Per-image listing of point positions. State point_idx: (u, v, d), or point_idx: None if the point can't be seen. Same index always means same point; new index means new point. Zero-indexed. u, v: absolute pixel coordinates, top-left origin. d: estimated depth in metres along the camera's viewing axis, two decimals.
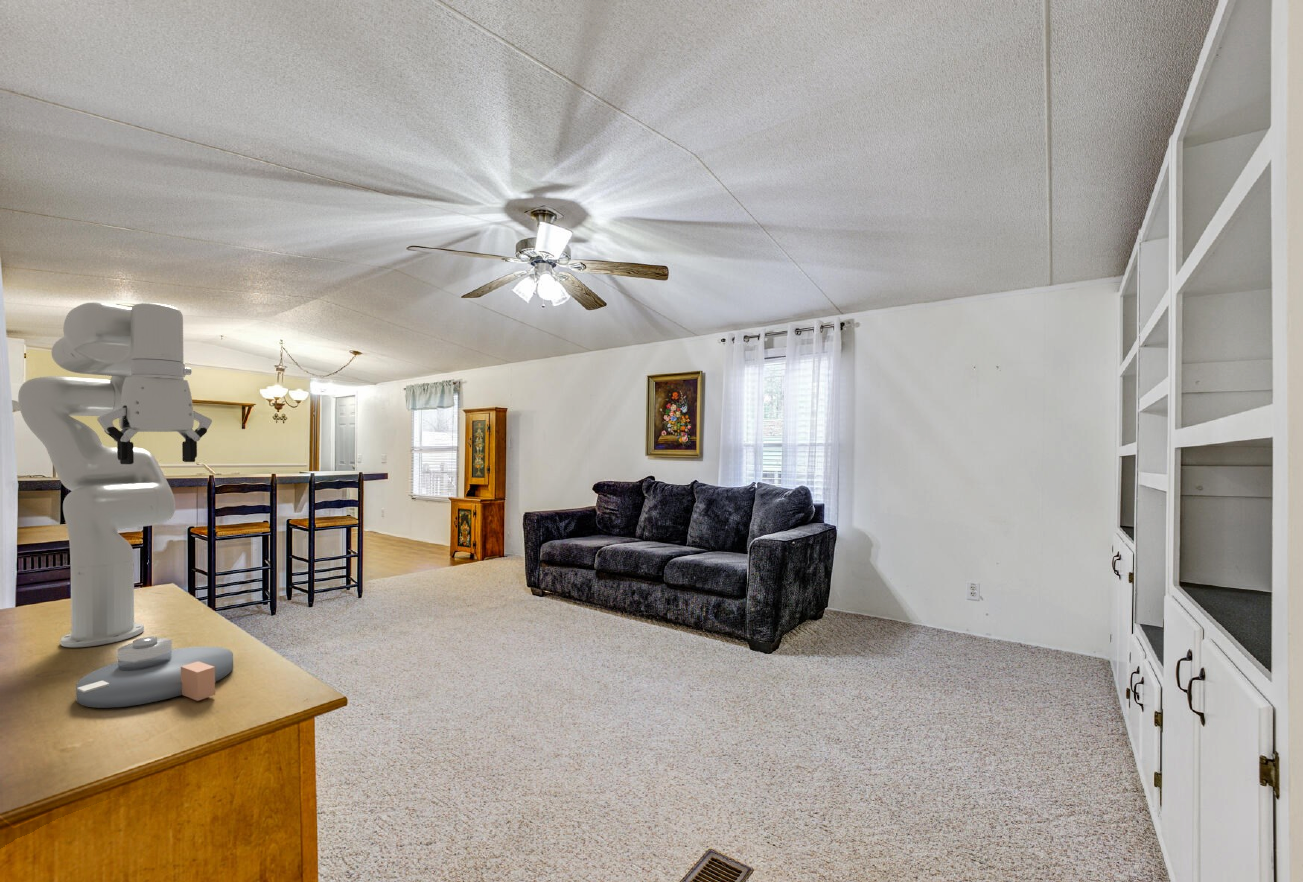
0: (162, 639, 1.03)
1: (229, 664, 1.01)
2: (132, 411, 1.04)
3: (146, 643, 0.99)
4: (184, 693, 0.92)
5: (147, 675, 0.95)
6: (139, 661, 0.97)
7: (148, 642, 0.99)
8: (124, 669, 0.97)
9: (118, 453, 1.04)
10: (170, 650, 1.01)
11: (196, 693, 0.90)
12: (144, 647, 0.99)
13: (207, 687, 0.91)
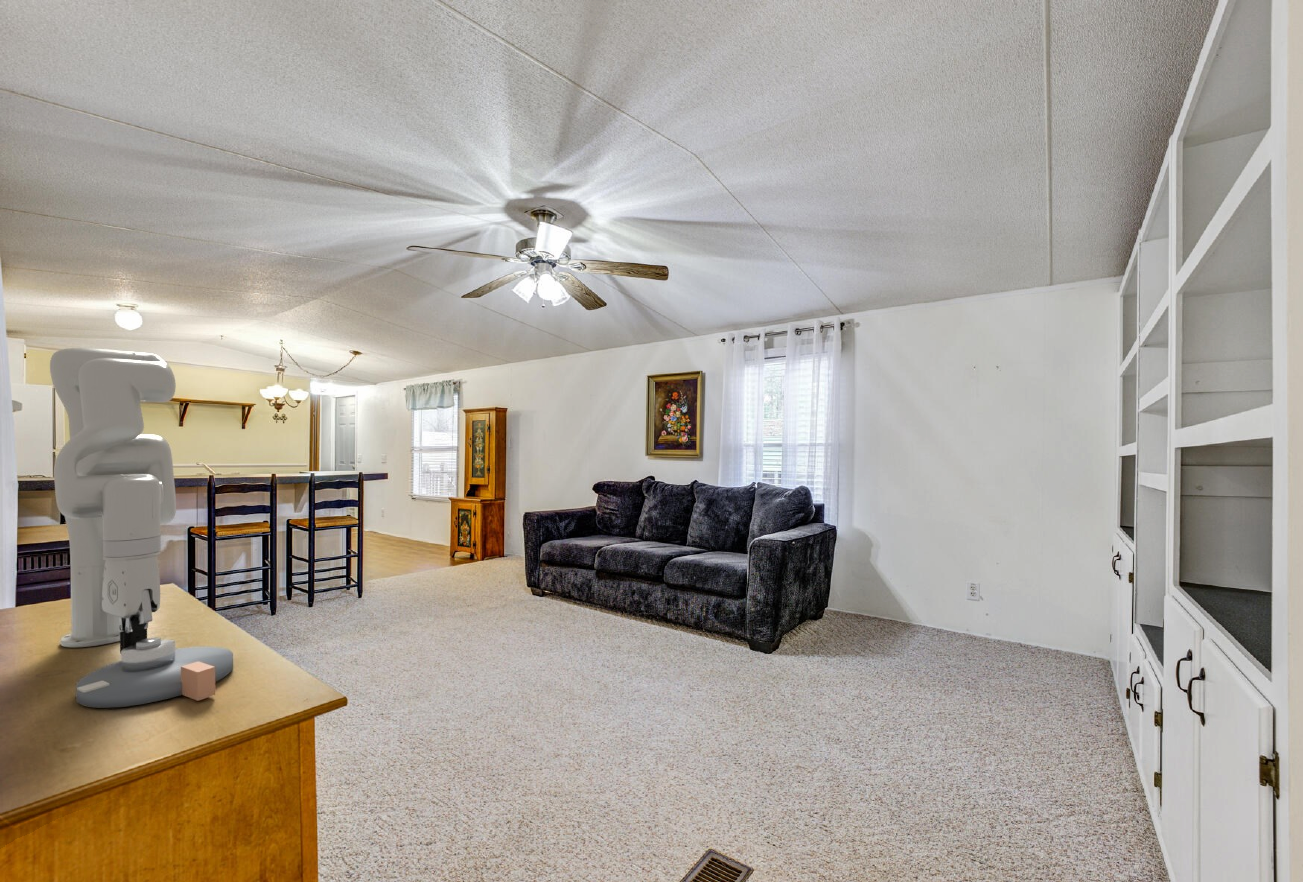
0: (166, 640, 1.02)
1: (229, 664, 1.01)
2: (159, 592, 1.01)
3: (149, 644, 0.98)
4: (184, 693, 0.92)
5: (147, 675, 0.95)
6: (143, 662, 0.96)
7: (152, 643, 0.99)
8: (128, 670, 0.96)
9: (134, 643, 1.01)
10: (173, 651, 1.01)
11: (197, 693, 0.90)
12: (148, 648, 0.98)
13: (207, 687, 0.91)
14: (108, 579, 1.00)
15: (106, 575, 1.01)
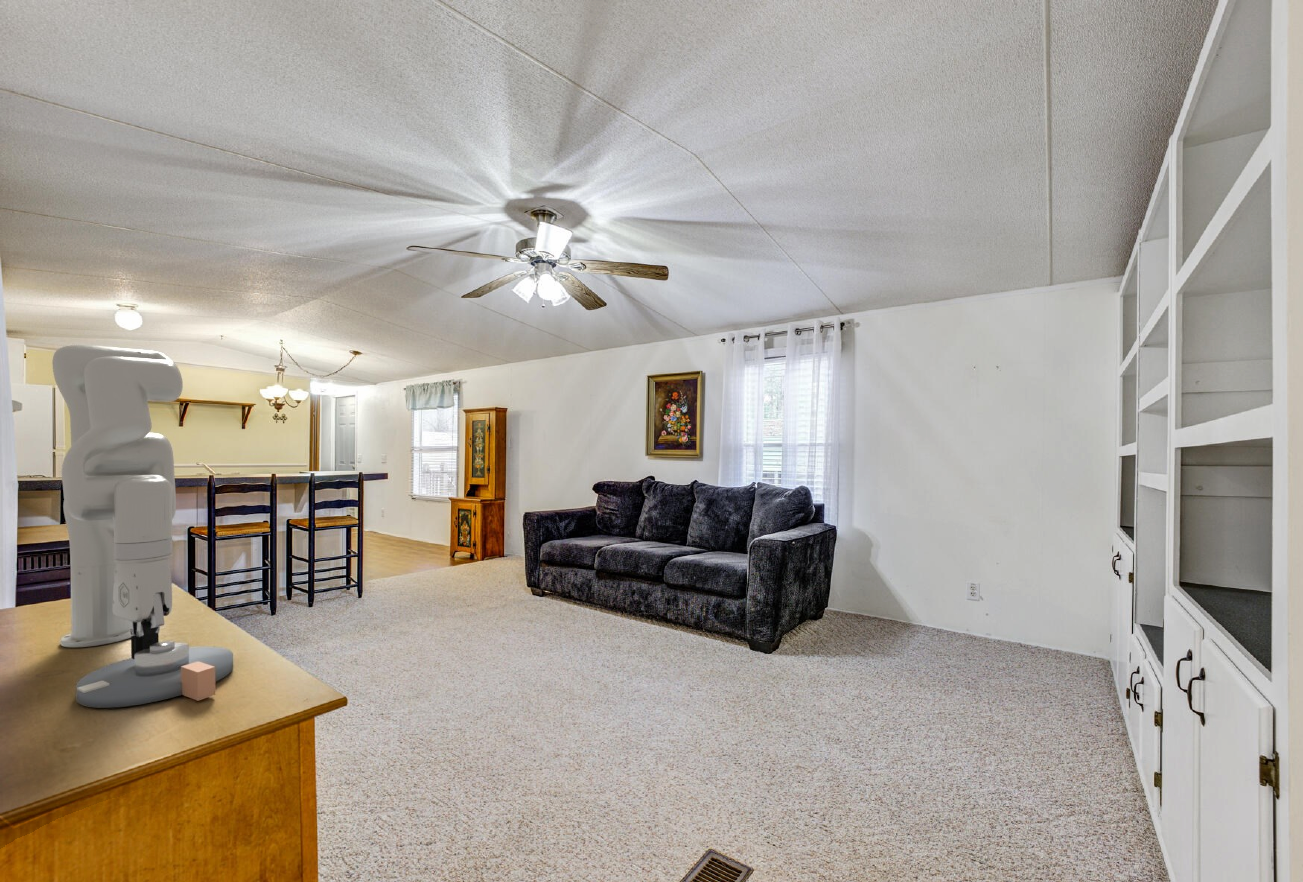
0: (178, 643, 1.01)
1: (229, 664, 1.01)
2: (171, 595, 0.99)
3: (163, 648, 0.97)
4: (184, 693, 0.92)
5: None
6: (158, 666, 0.95)
7: (166, 647, 0.97)
8: (142, 674, 0.94)
9: None
10: (188, 654, 0.99)
11: (197, 693, 0.90)
12: (162, 652, 0.96)
13: (207, 687, 0.91)
14: (119, 582, 0.98)
15: (117, 578, 0.99)
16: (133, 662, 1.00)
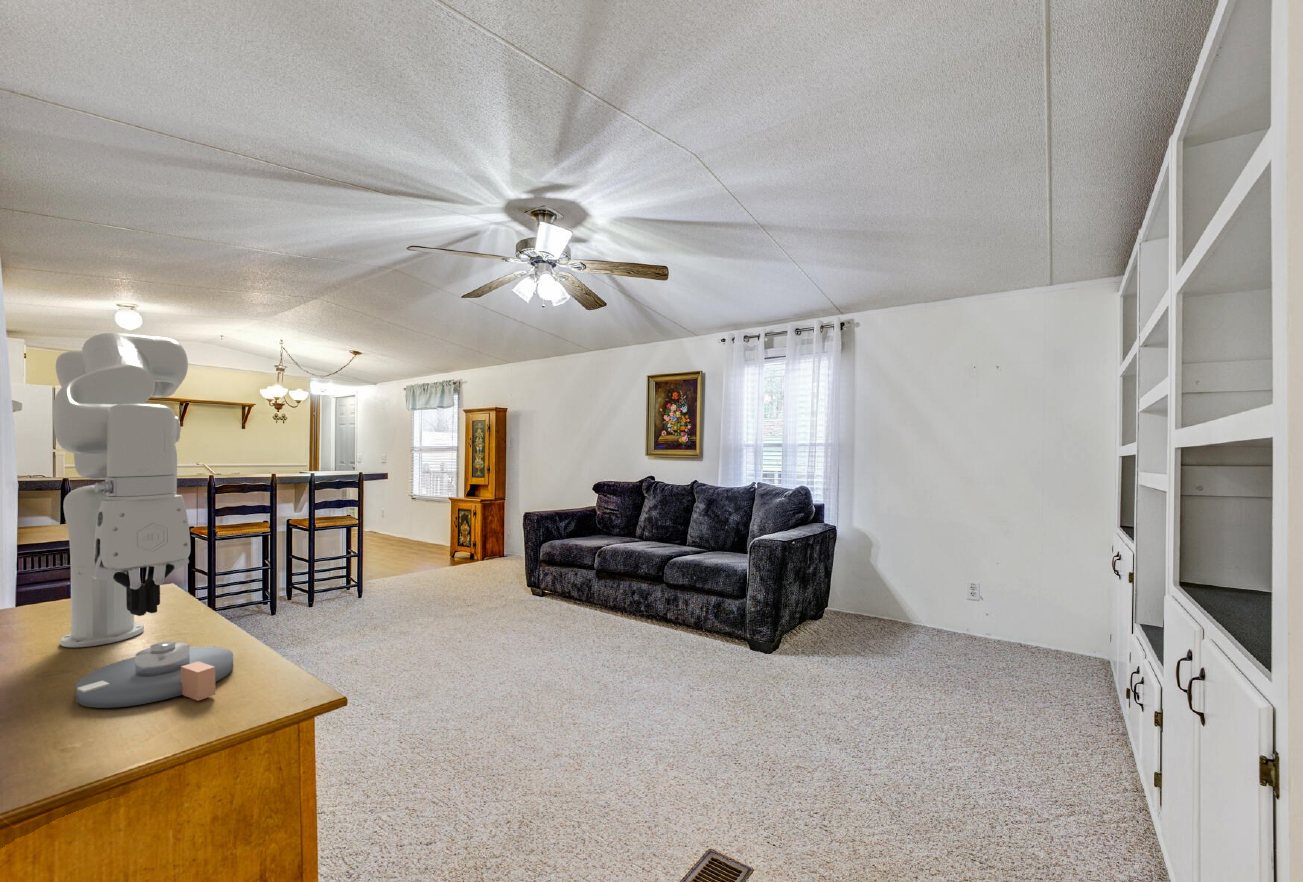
0: (179, 644, 1.01)
1: (229, 664, 1.01)
2: None
3: (164, 648, 0.97)
4: (184, 693, 0.92)
5: None
6: (158, 666, 0.95)
7: (167, 647, 0.97)
8: (143, 675, 0.94)
9: None
10: (188, 654, 0.99)
11: (197, 693, 0.90)
12: (163, 652, 0.96)
13: (207, 687, 0.91)
14: (140, 524, 0.83)
15: (130, 522, 0.82)
16: (133, 662, 1.00)
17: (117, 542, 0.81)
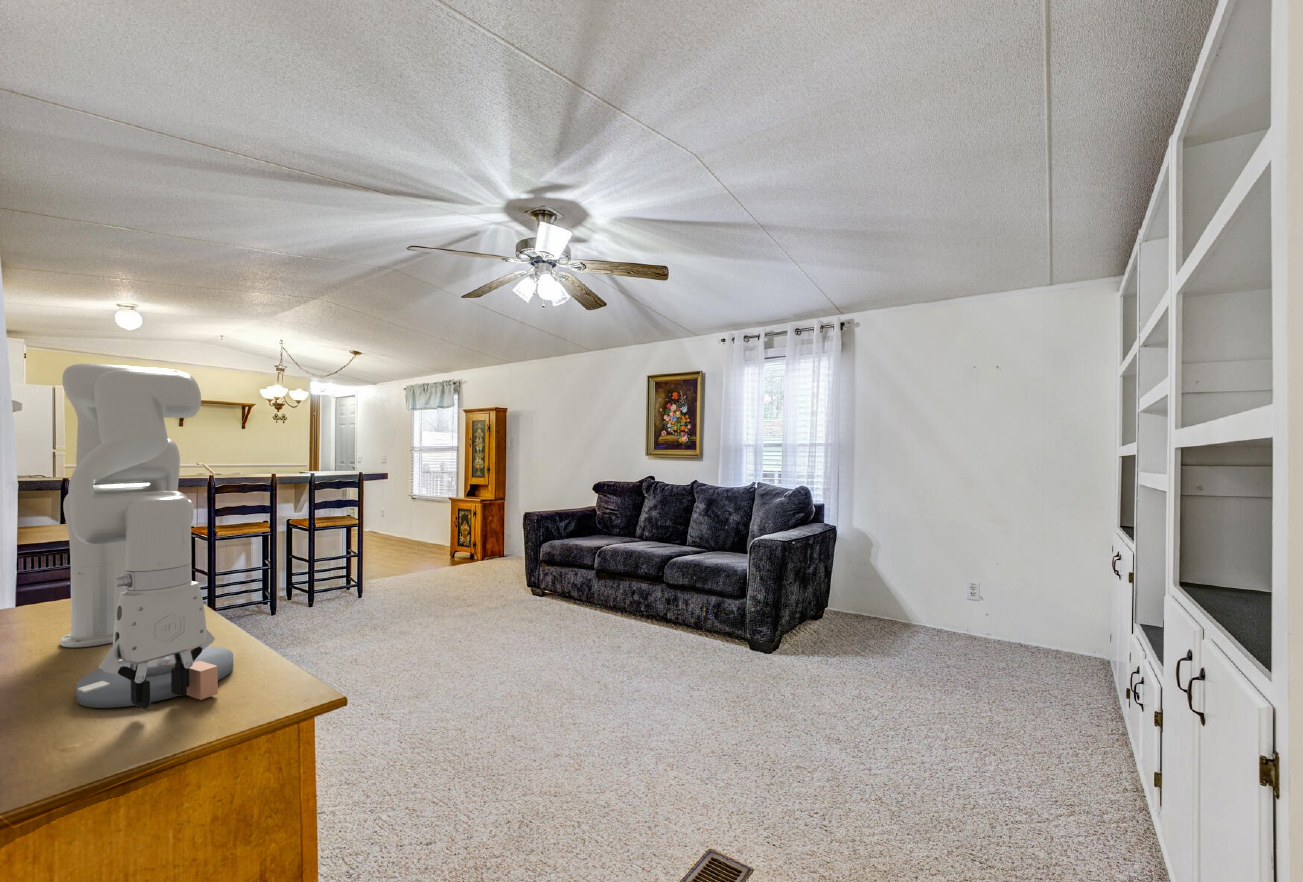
0: None
1: (230, 663, 1.01)
2: None
3: None
4: None
5: None
6: (159, 666, 0.95)
7: None
8: None
9: None
10: None
11: (199, 692, 0.90)
12: None
13: (210, 686, 0.92)
14: (158, 616, 0.85)
15: (148, 615, 0.84)
16: None
17: (136, 636, 0.83)
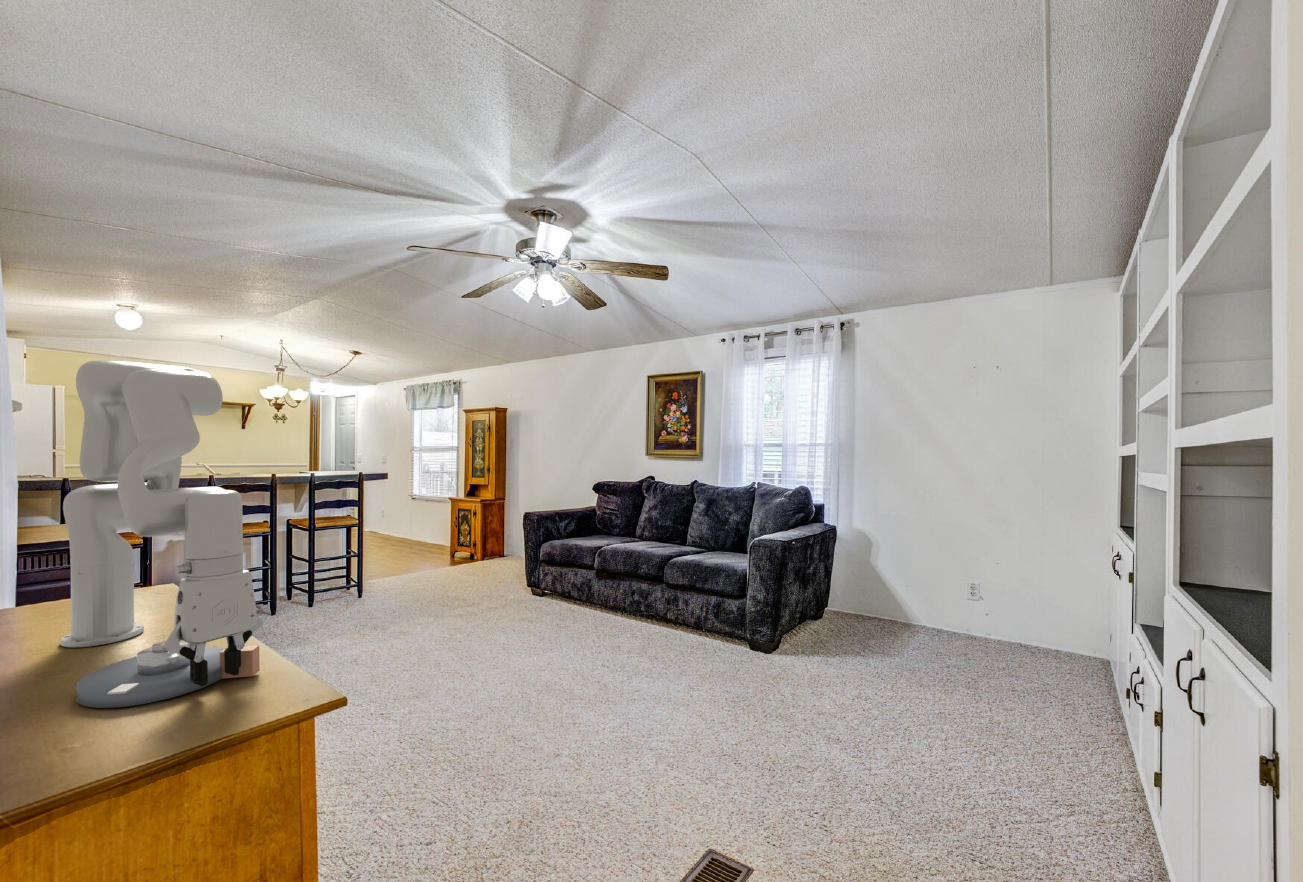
0: None
1: None
2: None
3: None
4: (227, 675, 0.98)
5: None
6: (177, 661, 0.97)
7: None
8: (161, 672, 0.95)
9: None
10: None
11: (251, 669, 0.99)
12: None
13: (256, 664, 1.00)
14: (215, 601, 0.92)
15: (206, 599, 0.91)
16: (107, 673, 0.96)
17: (195, 619, 0.90)
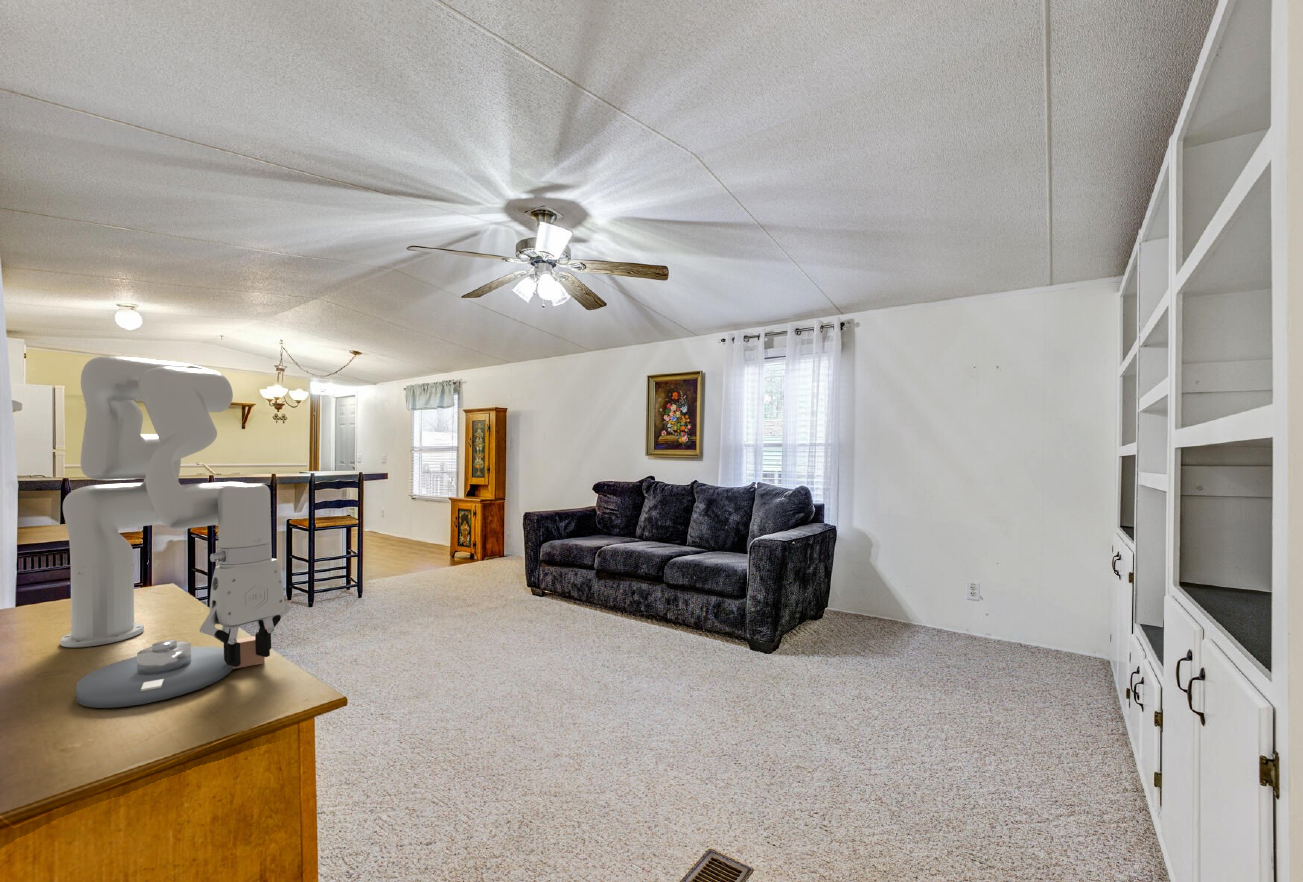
0: None
1: None
2: None
3: (176, 643, 0.99)
4: None
5: None
6: (186, 658, 0.98)
7: (176, 642, 0.99)
8: (172, 669, 0.96)
9: None
10: None
11: None
12: (175, 647, 0.99)
13: None
14: (247, 587, 0.99)
15: (239, 585, 0.98)
16: (101, 679, 0.93)
17: (230, 603, 0.97)
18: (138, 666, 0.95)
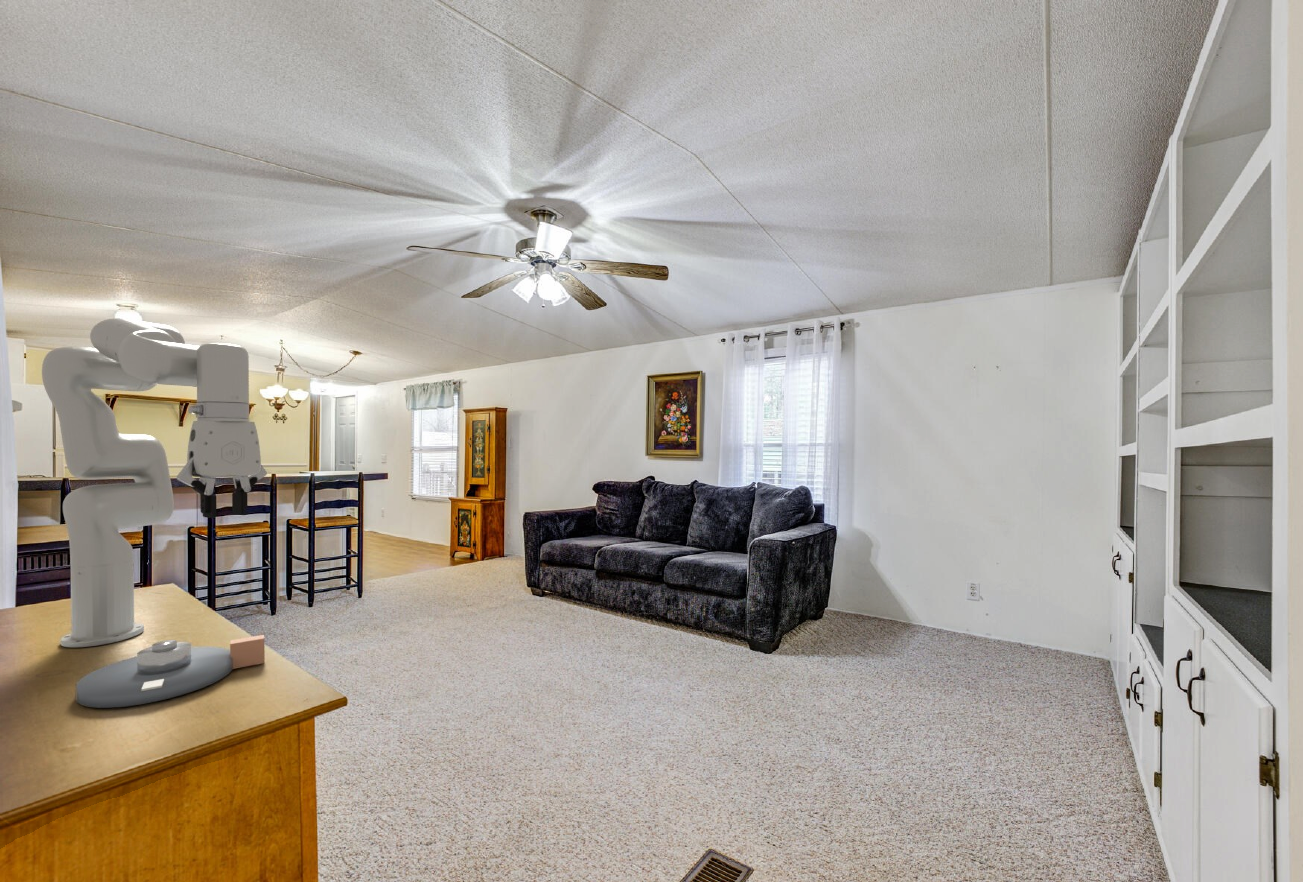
0: None
1: None
2: None
3: (176, 643, 0.99)
4: (237, 665, 1.03)
5: None
6: (186, 658, 0.98)
7: (176, 642, 0.99)
8: (172, 669, 0.96)
9: (246, 503, 1.07)
10: None
11: (263, 656, 1.05)
12: (175, 647, 0.99)
13: None
14: (224, 441, 1.02)
15: (216, 438, 1.01)
16: (101, 679, 0.93)
17: (207, 454, 1.00)
18: (138, 666, 0.95)
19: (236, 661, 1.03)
